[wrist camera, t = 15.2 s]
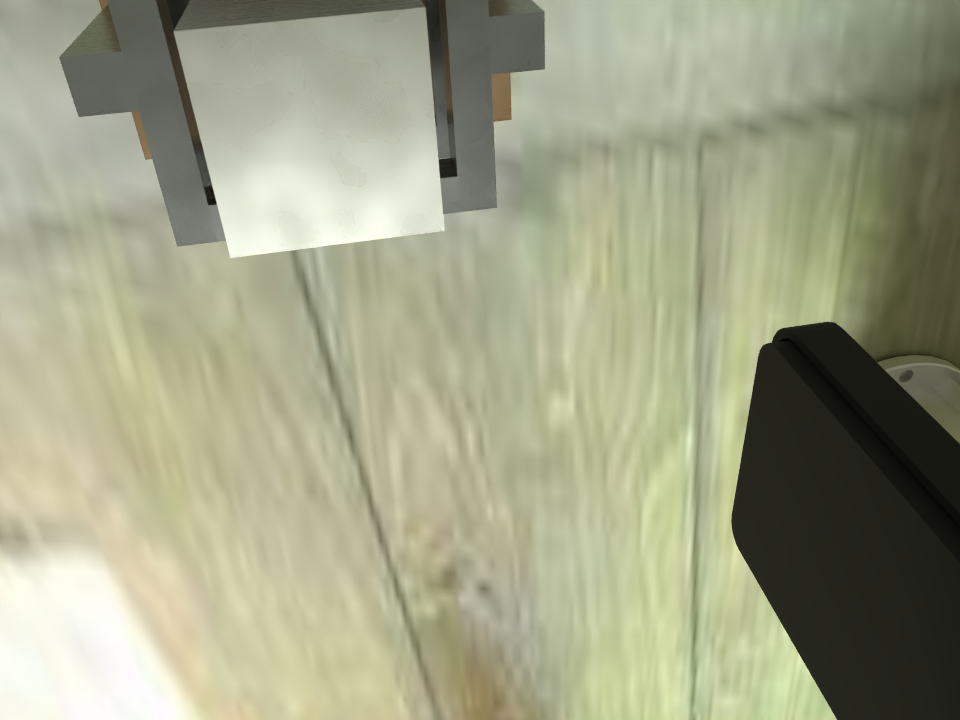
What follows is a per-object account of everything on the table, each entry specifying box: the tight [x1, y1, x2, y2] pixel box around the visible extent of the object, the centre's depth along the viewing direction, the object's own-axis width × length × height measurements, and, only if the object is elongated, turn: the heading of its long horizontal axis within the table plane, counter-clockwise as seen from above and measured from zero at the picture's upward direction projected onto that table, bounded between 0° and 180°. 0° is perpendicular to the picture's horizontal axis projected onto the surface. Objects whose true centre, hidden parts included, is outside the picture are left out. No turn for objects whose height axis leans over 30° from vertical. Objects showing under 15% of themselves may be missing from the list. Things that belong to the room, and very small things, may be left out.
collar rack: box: [59, 0, 545, 246], centre depth 28 cm, size 15×11×11 cm
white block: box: [173, 0, 445, 258], centre depth 25 cm, size 5×5×16 cm
